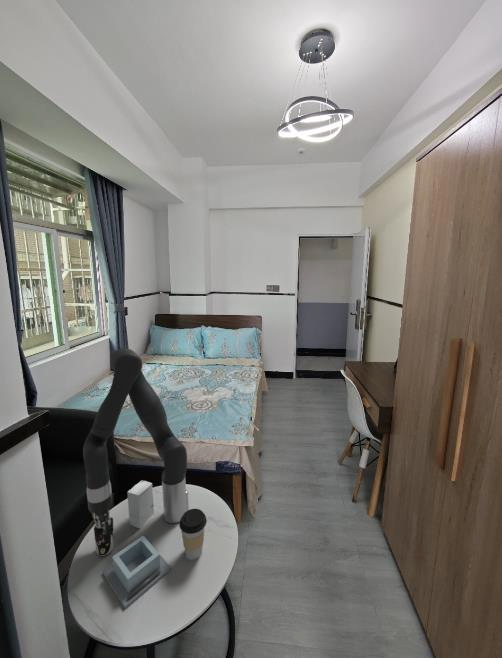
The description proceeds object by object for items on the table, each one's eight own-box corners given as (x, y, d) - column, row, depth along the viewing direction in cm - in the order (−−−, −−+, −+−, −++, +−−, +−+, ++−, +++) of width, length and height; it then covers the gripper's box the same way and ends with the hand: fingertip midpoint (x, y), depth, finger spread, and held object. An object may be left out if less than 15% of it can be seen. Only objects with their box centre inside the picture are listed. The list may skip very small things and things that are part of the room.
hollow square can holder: (146, 541, 109) (145, 526, 108) (171, 569, 99) (170, 553, 98) (102, 573, 98) (101, 557, 97) (125, 609, 87) (123, 591, 86)
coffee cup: (175, 554, 105) (173, 518, 102) (196, 536, 112) (194, 502, 109) (192, 571, 99) (190, 533, 96) (212, 551, 106) (212, 516, 103)
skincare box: (140, 529, 115) (137, 496, 112) (128, 524, 117) (126, 492, 114) (154, 514, 122) (153, 482, 120) (143, 509, 125) (141, 478, 122)
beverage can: (95, 559, 102) (91, 530, 100) (98, 545, 108) (95, 517, 105) (113, 555, 104) (110, 526, 102) (114, 541, 109) (112, 513, 107)
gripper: (119, 498, 100) (123, 540, 103) (102, 479, 109) (106, 517, 112) (96, 511, 94) (101, 554, 97) (80, 489, 104) (85, 530, 107)
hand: (103, 534), depth 105 cm, fingers closed on beverage can, 5 cm apart
